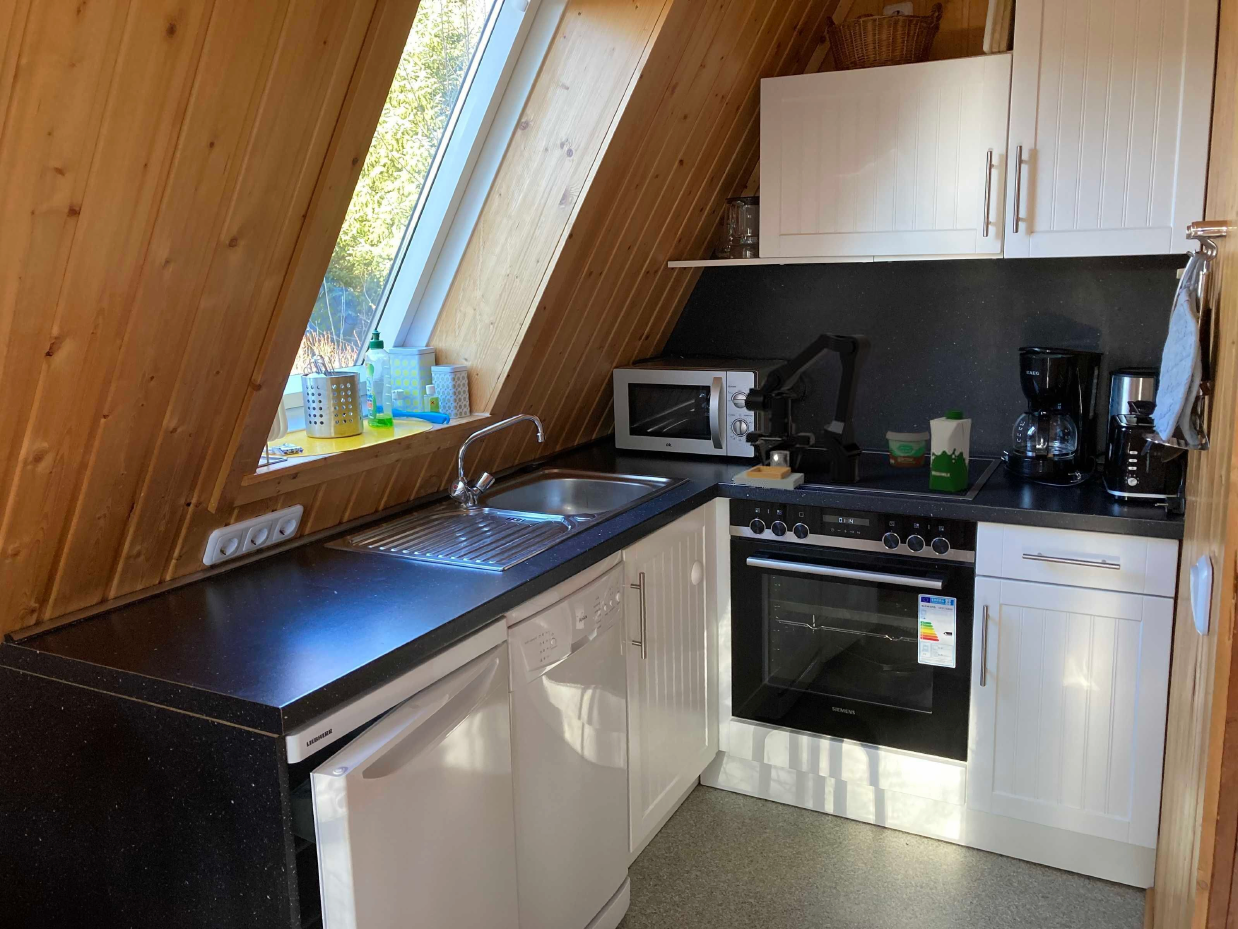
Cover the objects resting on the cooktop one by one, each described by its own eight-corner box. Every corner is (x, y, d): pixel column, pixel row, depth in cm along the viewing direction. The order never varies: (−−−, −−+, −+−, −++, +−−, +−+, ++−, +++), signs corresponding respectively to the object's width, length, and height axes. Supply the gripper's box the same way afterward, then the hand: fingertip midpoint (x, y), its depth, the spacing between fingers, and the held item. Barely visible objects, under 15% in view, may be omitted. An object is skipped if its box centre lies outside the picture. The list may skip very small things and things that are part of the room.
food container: (886, 467, 290) (887, 433, 289) (885, 464, 296) (886, 430, 294) (931, 468, 288) (932, 433, 286) (928, 464, 294) (929, 430, 292)
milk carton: (972, 487, 260) (975, 411, 257) (955, 493, 254) (958, 414, 250) (940, 483, 266) (943, 408, 263) (923, 489, 260) (926, 412, 256)
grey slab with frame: (803, 482, 271) (803, 468, 271) (793, 490, 262) (793, 475, 261) (745, 478, 278) (745, 464, 278) (733, 486, 269) (733, 471, 268)
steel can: (791, 471, 287) (791, 451, 286) (785, 475, 283) (786, 454, 282) (773, 470, 290) (773, 450, 289) (768, 474, 285) (768, 453, 284)
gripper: (819, 411, 286) (819, 465, 289) (756, 409, 294) (756, 461, 297) (809, 416, 277) (809, 471, 279) (745, 413, 284) (744, 468, 287)
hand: (779, 468), depth 286 cm, fingers open, 9 cm apart
